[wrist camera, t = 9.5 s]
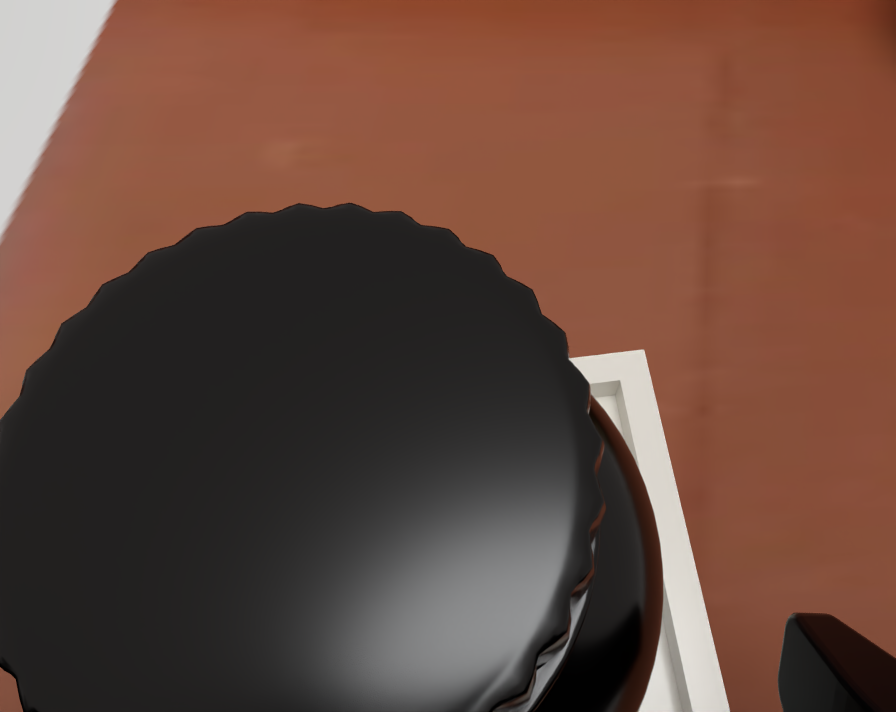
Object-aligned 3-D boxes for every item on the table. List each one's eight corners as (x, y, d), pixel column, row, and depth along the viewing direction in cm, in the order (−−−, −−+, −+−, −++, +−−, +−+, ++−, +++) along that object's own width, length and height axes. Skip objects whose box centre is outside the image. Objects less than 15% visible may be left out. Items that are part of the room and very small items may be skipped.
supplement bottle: (584, 476, 18) (711, 91, 7) (607, 822, 15) (890, 1097, 4) (288, 478, 18) (-29, 119, 7) (254, 816, 15) (-355, 1046, 4)
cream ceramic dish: (752, 893, 15) (777, 910, 13) (187, 956, 15) (155, 978, 14) (634, 375, 20) (643, 349, 18) (206, 426, 20) (184, 404, 18)
